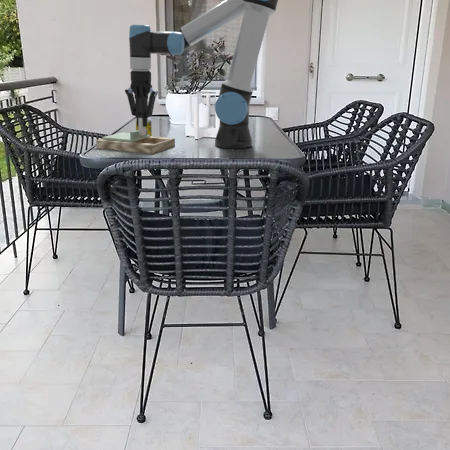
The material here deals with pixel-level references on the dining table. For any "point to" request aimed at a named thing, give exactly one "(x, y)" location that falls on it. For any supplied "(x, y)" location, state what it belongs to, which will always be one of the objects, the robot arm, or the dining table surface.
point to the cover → (127, 136)
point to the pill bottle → (148, 127)
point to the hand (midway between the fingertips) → (142, 135)
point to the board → (138, 144)
